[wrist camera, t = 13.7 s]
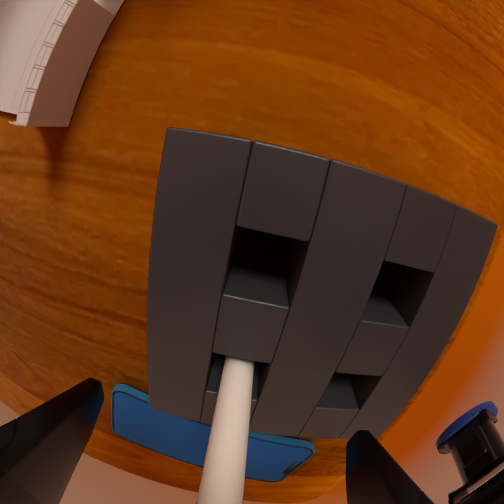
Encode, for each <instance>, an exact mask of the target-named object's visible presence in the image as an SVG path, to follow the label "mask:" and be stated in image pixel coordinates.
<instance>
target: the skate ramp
mask: <svg viewBox="0 0 504 504" xmlns="http://www.w3.org/2000/svg"><path fill="white" fill-rule="evenodd" d="M123 1H124V0H58V1H57V0H0V111H4V112H9V113H13V114H17V119H16V122H14V123H16V124H14V123H12V124H14V125H17V124H19V125H17V126H26V127H31V126H45V127H68V126H69V123H70V119H71V116H72V113H73V110H74V107H75V104H76V101H77V98H78V95H79V93H80V90H81V87H82V85H83V82H84V80H85V77H86V75H87V72H88V70H89V67H90V65H91V63H92V60H93V58H94V56H95V54H96V52H97V49H98V47H99V45H100V43H101V41H102V39H103V37H104V35H105V33H106V31H107V29H108V27H109V26H110V24H111V22H112V20H113V18H114V17H115V15H116V13H117V11H118V10H119V8H120V6H121V5H122V3H123ZM54 5H55V6H54ZM53 7H54V8H53ZM50 12H51V13H50ZM49 14H50V15H49ZM48 16H49V17H48ZM37 38H38V39H37ZM36 40H37V41H36ZM35 42H36V43H35ZM32 49H33V50H32ZM31 51H32V52H31ZM29 56H30V57H29ZM27 61H28V62H27ZM25 66H26V67H25ZM24 69H25V70H24ZM22 74H23V75H22ZM21 77H22V78H21ZM20 80H21V81H20ZM19 83H20V84H19ZM18 86H19V87H18ZM17 89H18V90H17ZM16 92H17V93H16ZM15 95H16V96H15ZM13 102H14V103H13ZM12 105H13V106H12ZM11 109H12V110H11ZM9 123H11V122H9Z"/></svg>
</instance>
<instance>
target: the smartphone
mask: <svg viewBox="0 0 504 504" xmlns="http://www.w3.org/2000/svg"><path fill="white" fill-rule="evenodd" d="M211 427H212V425H211V424H207V423H202V422H201V421H199V422H198V421H194V420H190V419H186V418H182V417H178V416H174V415H171V414H167V413H164V412H160V411H157V410H154V409H151V408H150V407H149V395H148V394H146V393H143V392H141V391H139V390H137V389H135V388H132V387H130V386H128V385H125V384H117V385H116V386H115V387H114V389H113V391H112V392H111V428H112V430H113V431H114V432H115V433H116V434H117V435H118V436H120V437H122V438H124V439H126V440H128V441H131V442H133V443H135V444H138V445H140V446H142V447H145V448H147V449H150V450H152V451H155V452H157V453H160V454H163V455H165V456H168V457H171V458H174V459H177V460H180V461H183V462H186V463H189V464H192V465H195V466H199V467H202V468H203V467H204V462H205V457H206V452H207V447H208V442H209V437H210V432H211ZM314 453H315V450H314V444H313V443H312V442H310V441H305V440H299V439H294V438H288V437H283V436H278V435H272V434H264V433H256V432H250V431H249V433H248V445H247V457H246V469H245V478H248V479H254V480H259V481H265V482H278V481H281V480H283V479H285V478H286V477H287V476H288V475H290V474H291V473H292V472H294V471H295V470H296V469H297V468H299V467H300V466H301V465H302V464H303V463H305V462H306V461H307V460H308V459H309V458H311V457H312V456H313V455H314Z"/></svg>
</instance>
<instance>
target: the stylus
mask: <svg viewBox="0 0 504 504" xmlns="http://www.w3.org/2000/svg"><path fill="white" fill-rule="evenodd" d="M253 370H254V361H252V360H247V359H242V358H237V357H232V356H227V355H226V357H225V362H224V367H223V372H222V377H221V382H220V387H219V392H218V397H217V402H216V407H215V412H214V417H213V422H212V427H211V432H210V437H209V442H208V447H207V452H206V457H205V462H204V467H203V472H202V478H201V483H200V488H199V493H198V498H197V503H196V504H242V502H243V491H244V480H245V469H246V457H247V445H248V433H249V421H250V409H251V396H252V383H253Z"/></svg>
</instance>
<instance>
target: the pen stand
mask: <svg viewBox="0 0 504 504" xmlns="http://www.w3.org/2000/svg"><path fill="white" fill-rule="evenodd" d="M240 227H242V228H247V229H252V230H256V231H261V232H265V233H270V234H274V235H279V236H283V237H288V238H291V239H290V243H289V246H288V250H287V254H286V258H285V261H284V263H283V262H279V261H275V260H270V259H265V258H261V257H256V256H251V255H247V254H242V253H238V252H236V253H235V251H236V246H237V241H238V236H239V232H240ZM496 229H497V224H496V223H494V222H492V221H490V220H488V219H486V218H484V217H482V216H480V215H478V214H476V213H474V212H472V211H470V210H468V209H466V208H463V207H461V206H459V205H457V204H455V203H452V202H450V201H448V200H446V199H443V198H441V197H439V196H436V195H434V194H431V193H429V192H427V191H424V190H422V189H419V188H417V187H414V186H411V185H409V184H405V183H403V182H401V181H398V180H395V179H392V178H390V177H387V176H384V175H381V174H378V173H375V172H372V171H369V170H366V169H363V168H360V167H357V166H354V165H350V164H347V163H344V162H340V161H337V160H333V159H328V158H326V157H323V156H319V155H315V154H311V153H308V152H304V151H300V150H296V149H292V148H287V147H283V146H279V145H274V144H270V143H265V142H260V141H254V142H253V141H252V140H250V139H245V138H240V137H235V136H229V135H223V134H217V133H211V132H204V131H198V130H190V129H183V128H174V127H169V128H167V131H166V136H165V141H164V147H163V152H162V158H161V164H160V171H159V177H158V184H157V192H156V199H155V207H154V216H153V225H152V236H151V247H150V260H149V276H148V299H147V371H148V392H149V407H150V408H151V409H154V410H157V411H160V412H164V413H167V414H171V415H174V416H178V417H182V418H186V419H190V420H194V421H198V422H199V421H201V422H202V423H207V424H211V425H212V422H213V417H214V412H215V407H216V402H217V397H218V392H219V387H220V382H221V377H222V372H223V367H224V362H225V357H226V355H227V356H232V357H237V358H242V359H247V360H252V361H254V370H253V383H252V396H251V409H250V421H249V431H250V432H256V433H264V434H272V435H282V436H293V437H297V436H298V437H308V438H339V439H350V438H351V437H352V436H353V435H354V433H355V432H356V431H358V430H368V431H370V432H371V434H372V435H373V436H374V437H375V438H379V437H380V436H381V435H382V433H383V432H384V431H385V430H386V429H387V428H388V427H389V425H390V424H391V423H392V422H393V421H394V419H395V418H396V417H397V416H398V414H399V413H400V412H401V411H402V409H403V408H404V407H405V406H406V404H407V403H408V402H409V400H410V399H411V398H412V396H413V395H414V394H415V392H416V391H417V389H418V388H419V387H420V385H421V384H422V382H423V381H424V379H425V378H426V376H427V375H428V373H429V372H430V370H431V369H432V367H433V366H434V364H435V362H436V361H437V359H438V358H439V356H440V354H441V353H442V351H443V349H444V348H445V346H446V344H447V342H448V341H449V339H450V337H451V335H452V334H453V332H454V330H455V328H456V326H457V324H458V322H459V320H460V318H461V316H462V314H463V312H464V310H465V308H466V306H467V304H468V302H469V300H470V298H471V296H472V293H473V291H474V289H475V286H476V284H477V282H478V279H479V277H480V274H481V272H482V269H483V267H484V264H485V262H486V259H487V256H488V253H489V250H490V247H491V244H492V241H493V238H494V235H495V232H496ZM383 260H385V263H384V265H383V268H382V271H381V273H380V276H379V279H378V281H377V282H375V281H376V279H377V276H378V274H379V271H380V268H381V265H382V263H383Z"/></svg>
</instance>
